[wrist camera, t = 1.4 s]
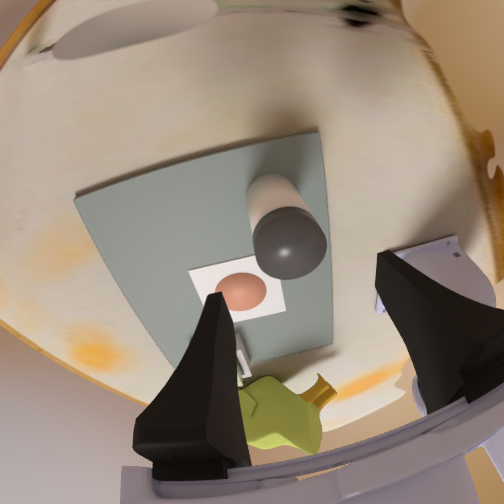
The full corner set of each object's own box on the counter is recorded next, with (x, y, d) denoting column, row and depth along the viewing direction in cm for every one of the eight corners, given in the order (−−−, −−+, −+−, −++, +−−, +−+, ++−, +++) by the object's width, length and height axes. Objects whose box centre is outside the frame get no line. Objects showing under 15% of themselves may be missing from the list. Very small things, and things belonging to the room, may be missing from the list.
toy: (275, 323, 38) (165, 409, 37) (354, 413, 25) (202, 510, 23) (295, 344, 42) (193, 423, 40) (366, 425, 28) (234, 512, 26)
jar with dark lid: (293, 167, 20) (324, 212, 14) (300, 214, 22) (328, 270, 17) (238, 179, 20) (248, 229, 14) (250, 226, 22) (262, 286, 17)
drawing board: (317, 131, 19) (329, 140, 17) (331, 340, 32) (337, 357, 30) (75, 197, 19) (62, 212, 17) (179, 371, 33) (178, 389, 31)
